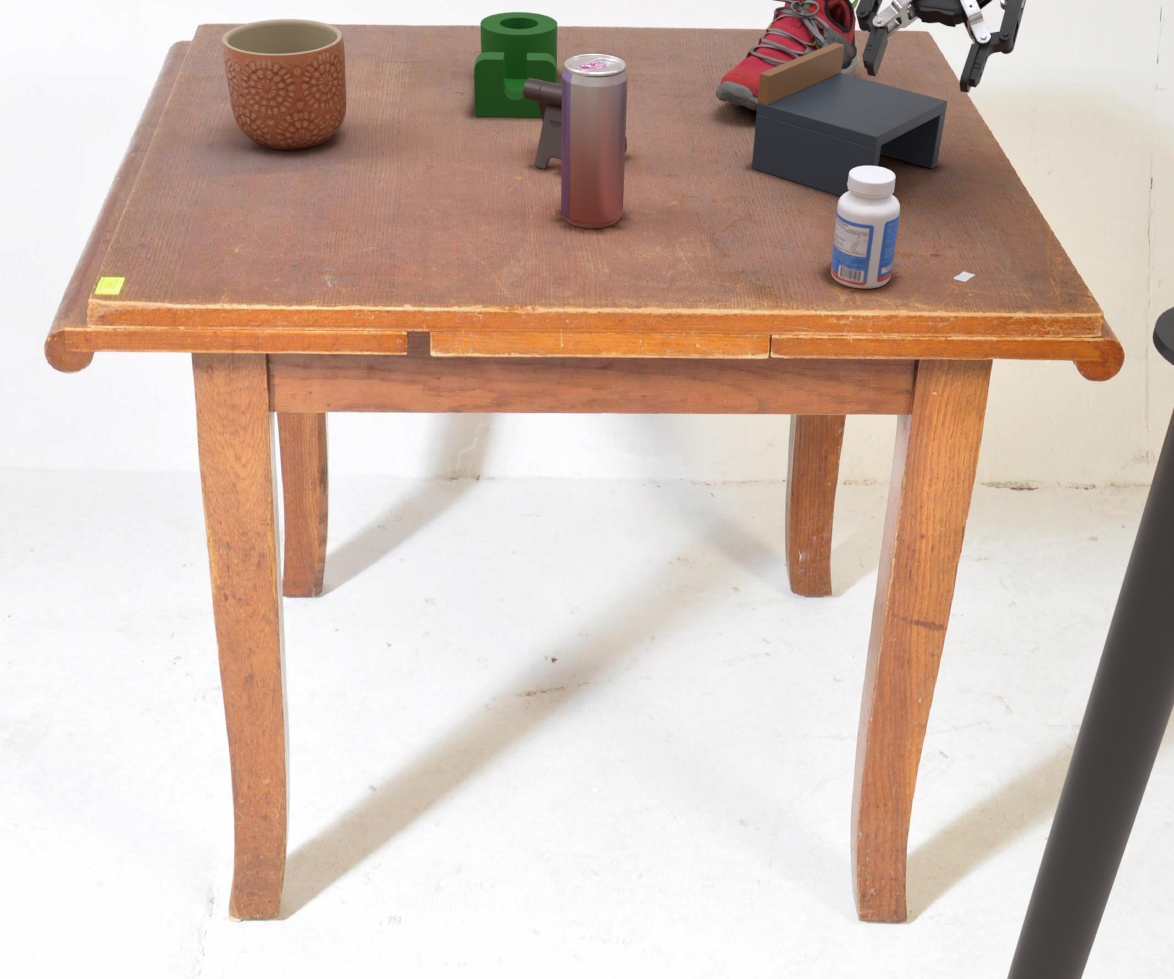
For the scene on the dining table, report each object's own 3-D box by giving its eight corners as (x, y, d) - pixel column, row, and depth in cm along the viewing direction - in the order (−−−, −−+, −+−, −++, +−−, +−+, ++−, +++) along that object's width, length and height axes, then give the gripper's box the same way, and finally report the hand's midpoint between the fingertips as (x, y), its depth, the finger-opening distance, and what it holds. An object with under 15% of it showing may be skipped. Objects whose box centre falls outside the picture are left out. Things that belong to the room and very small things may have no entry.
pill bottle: (875, 261, 131) (890, 159, 126) (900, 287, 127) (916, 183, 122) (819, 266, 130) (832, 164, 125) (842, 293, 126) (856, 188, 121)
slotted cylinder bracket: (483, 64, 175) (482, 11, 172) (557, 66, 176) (557, 13, 172) (475, 116, 161) (473, 59, 157) (555, 117, 161) (556, 60, 157)
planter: (318, 110, 161) (309, 12, 155) (371, 144, 153) (364, 42, 147) (214, 132, 155) (201, 30, 149) (264, 169, 147) (252, 62, 141)
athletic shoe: (675, 104, 165) (681, -2, 158) (827, 63, 178) (838, -36, 172) (750, 135, 157) (759, 26, 151) (903, 91, 170) (918, -12, 164)
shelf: (937, 166, 151) (952, 72, 145) (867, 205, 142) (880, 106, 137) (824, 133, 158) (835, 42, 153) (751, 168, 150) (759, 73, 144)
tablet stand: (628, 156, 152) (631, 78, 147) (591, 181, 146) (593, 100, 141) (556, 140, 155) (556, 63, 150) (517, 163, 149) (517, 84, 145)
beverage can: (548, 216, 138) (548, 61, 130) (593, 200, 142) (597, 49, 133) (589, 236, 135) (593, 78, 126) (635, 219, 138) (641, 65, 130)
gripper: (890, -116, 129) (834, 46, 127) (1050, -96, 124) (994, 72, 122) (898, -67, 136) (846, 87, 134) (1050, -47, 131) (997, 114, 129)
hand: (916, 80), depth 128 cm, fingers open, 8 cm apart
